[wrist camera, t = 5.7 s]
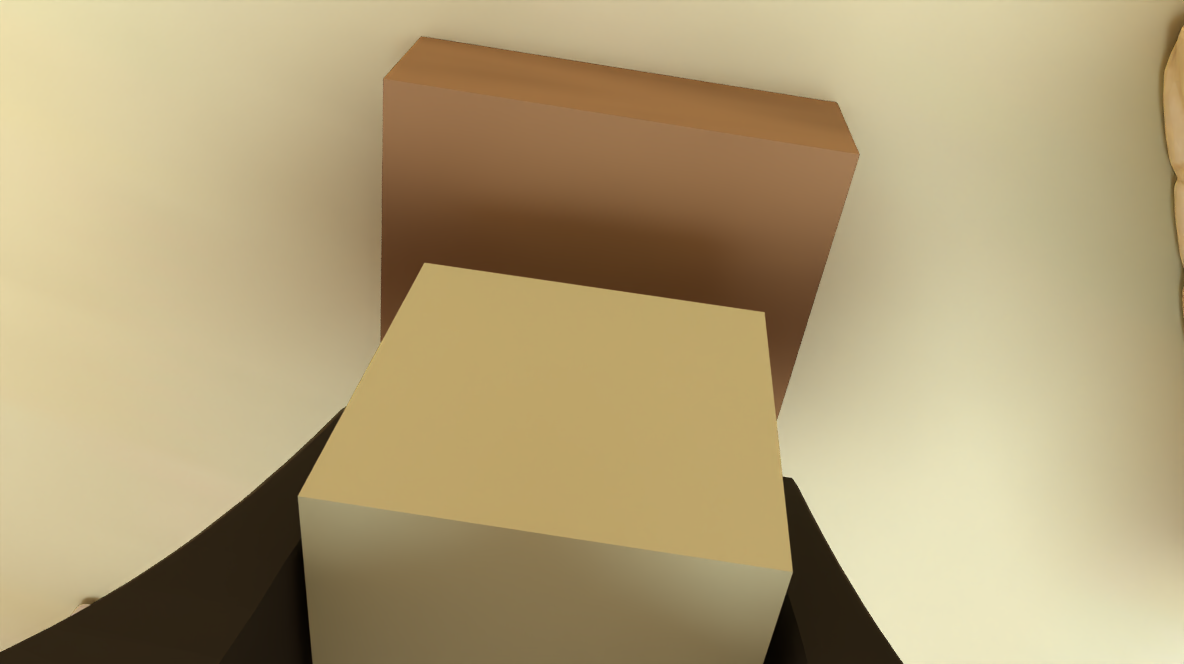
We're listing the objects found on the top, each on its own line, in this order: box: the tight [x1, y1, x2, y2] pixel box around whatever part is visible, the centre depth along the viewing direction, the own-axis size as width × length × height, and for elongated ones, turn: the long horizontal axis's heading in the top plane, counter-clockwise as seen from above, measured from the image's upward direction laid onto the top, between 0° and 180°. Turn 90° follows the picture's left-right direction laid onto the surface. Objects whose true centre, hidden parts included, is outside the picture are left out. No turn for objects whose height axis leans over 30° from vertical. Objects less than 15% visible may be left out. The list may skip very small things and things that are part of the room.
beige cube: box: [298, 263, 793, 664], centre depth 13 cm, size 5×5×5 cm
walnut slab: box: [381, 36, 860, 421], centre depth 19 cm, size 8×8×3 cm
